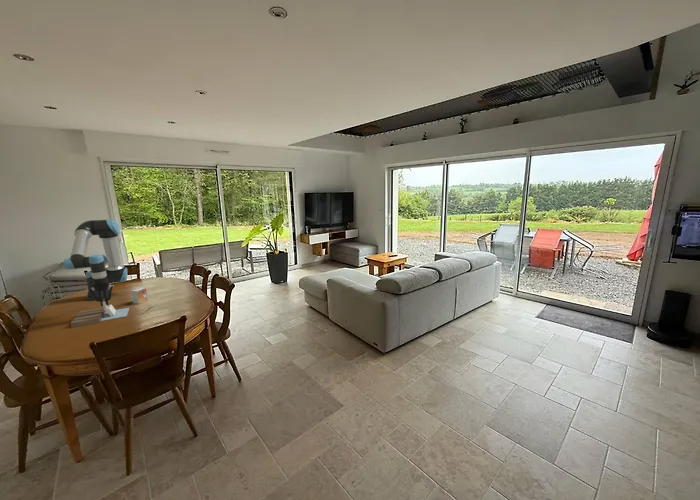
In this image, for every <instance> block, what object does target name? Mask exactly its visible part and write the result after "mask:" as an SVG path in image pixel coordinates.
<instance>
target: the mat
mask: <svg viewBox="0 0 700 500" xmlns="http://www.w3.org/2000/svg"><path fill="white" fill-rule="evenodd" d="M115 310H116V312H115V315H114V316H112V317H111V316H110V315H109V314H108V312H107V311H106V312H105V313H104V315H103V317H102V319H101V321H100V322H104V321H109V320H115V319H119V318H124V317H125V318H126V317H127V316H128V314H129V311H130V307H125V308H124V307H123V308H118V309H115Z"/></svg>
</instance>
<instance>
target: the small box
mask: <svg viewBox="0 0 700 500" xmlns="http://www.w3.org/2000/svg"><path fill="white" fill-rule="evenodd" d="M131 297H132V298H131V299H132V304H136V305H139V304H141V303H142V304H143V303H144V302H147V301H148V300H149V299H148V293H147V288H146V287H139V288H135V289H133V290H131Z"/></svg>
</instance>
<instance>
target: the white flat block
mask: <svg viewBox="0 0 700 500" xmlns="http://www.w3.org/2000/svg"><path fill="white" fill-rule="evenodd" d="M116 310H117V309H115V307H114V306H113V305H112V304H108V305H107V308H106V311H107V312H108V314H109V315H110V316H111V317H112V316H114V315H115V312H116Z"/></svg>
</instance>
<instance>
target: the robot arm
mask: <svg viewBox="0 0 700 500" xmlns="http://www.w3.org/2000/svg"><path fill="white" fill-rule="evenodd" d="M73 233H74V237H75V238H74V241H73V245H72V248H71V252H70V257H68V258H64V261H63V266H64V268H65V269H66V270H78V269H85V268H90V270H89V271H87V272H85V282H86V285H87V293H86V299H87V301H96V302H100V307H102V308H104V311H106V308H107V306H108V305H109V300H111V299H112V292H113V288H115V287H114V285H111V284H118V283H123V282H126V281H127V280H128V268H127V267H125V265H124V264H122V260H121V256H120V251H119V247H118V246H119V245H118V243H117V241H118V240H117V238H118V236H119V234H120V227H119V224H118V223H117V221H116V220H114V219H97V220H96V219H94V220H92V219H91V220H86V221H83V222H82V223H81V224H80V225H78V226H77V227H76V229H74V232H73ZM93 236H98V238H99V239H100V240H102V245H103V250H104V254H94V255H92V254H91V255H89V256H86V255H87V251H88V246H89V242H90V239H91V238H92V237H93ZM106 265H107V267H106Z"/></svg>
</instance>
